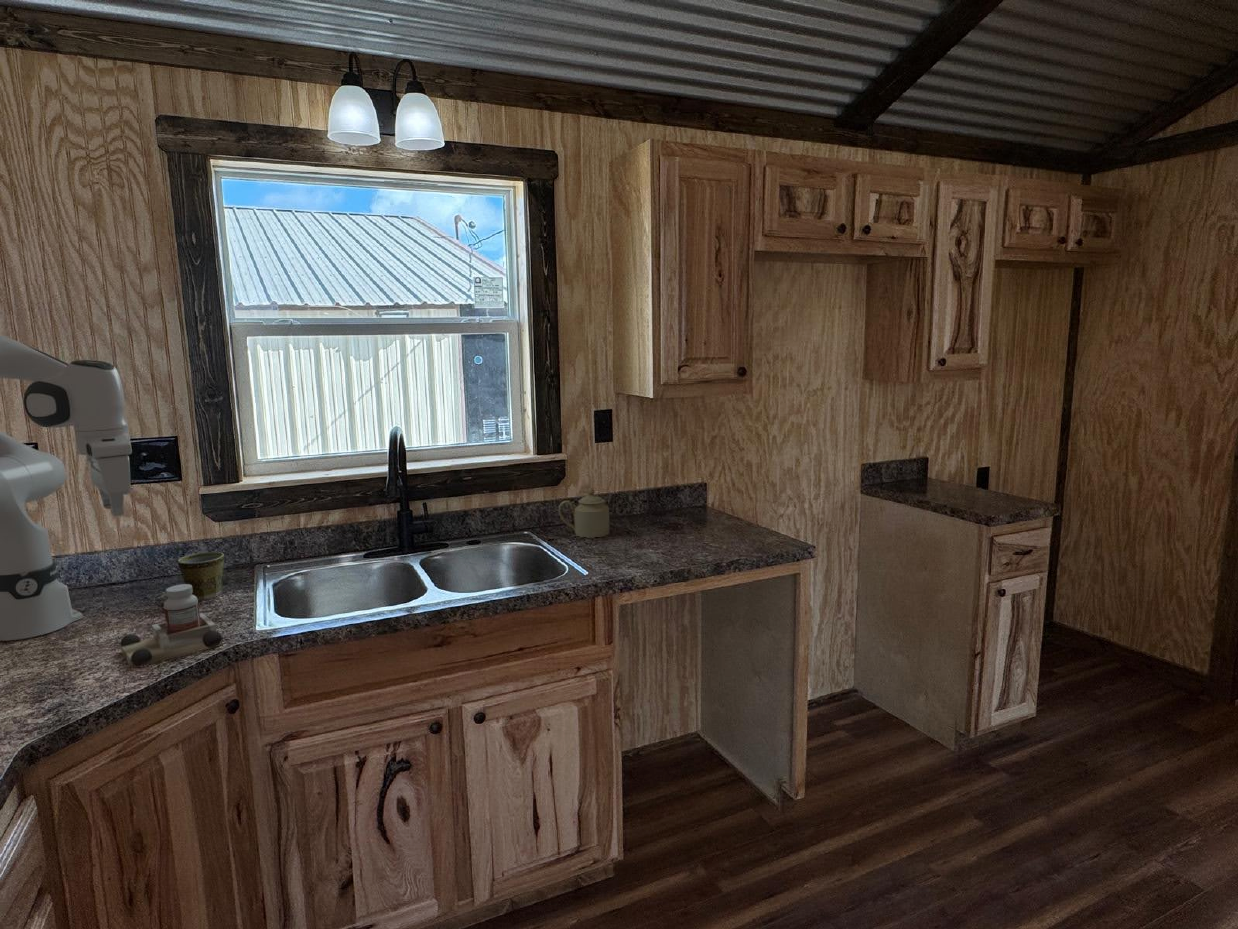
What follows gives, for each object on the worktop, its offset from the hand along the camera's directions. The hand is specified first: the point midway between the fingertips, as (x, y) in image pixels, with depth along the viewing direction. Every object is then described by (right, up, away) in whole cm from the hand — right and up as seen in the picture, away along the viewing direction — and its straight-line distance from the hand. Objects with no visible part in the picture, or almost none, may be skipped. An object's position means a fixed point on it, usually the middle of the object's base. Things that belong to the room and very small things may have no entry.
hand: (113, 511), depth 150 cm
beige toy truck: (+9, -29, +4) cm, 30 cm away
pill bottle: (+11, -27, +6) cm, 30 cm away
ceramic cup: (-3, -23, +38) cm, 45 cm away
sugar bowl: (+91, -13, +87) cm, 126 cm away
